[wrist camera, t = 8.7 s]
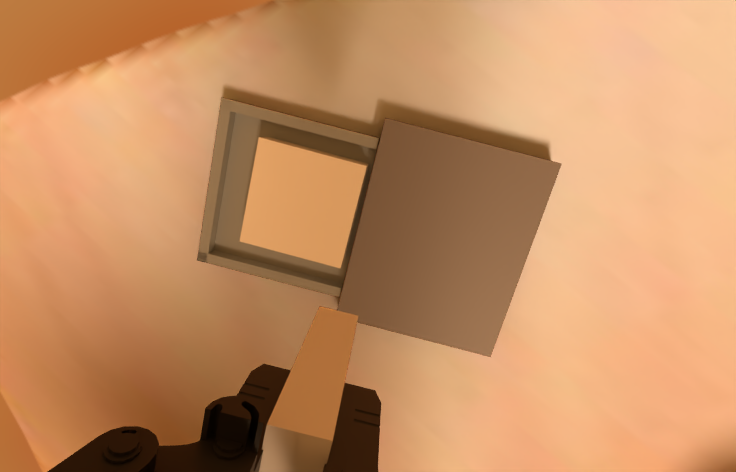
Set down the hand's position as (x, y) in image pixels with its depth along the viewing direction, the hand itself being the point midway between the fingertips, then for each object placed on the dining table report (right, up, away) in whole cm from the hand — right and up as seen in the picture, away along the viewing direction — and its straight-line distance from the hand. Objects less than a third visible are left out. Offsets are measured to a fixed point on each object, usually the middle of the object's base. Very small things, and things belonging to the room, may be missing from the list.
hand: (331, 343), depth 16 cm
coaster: (-3, +7, +17) cm, 19 cm away
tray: (-5, +7, +18) cm, 20 cm away
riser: (+7, +4, +18) cm, 19 cm away
